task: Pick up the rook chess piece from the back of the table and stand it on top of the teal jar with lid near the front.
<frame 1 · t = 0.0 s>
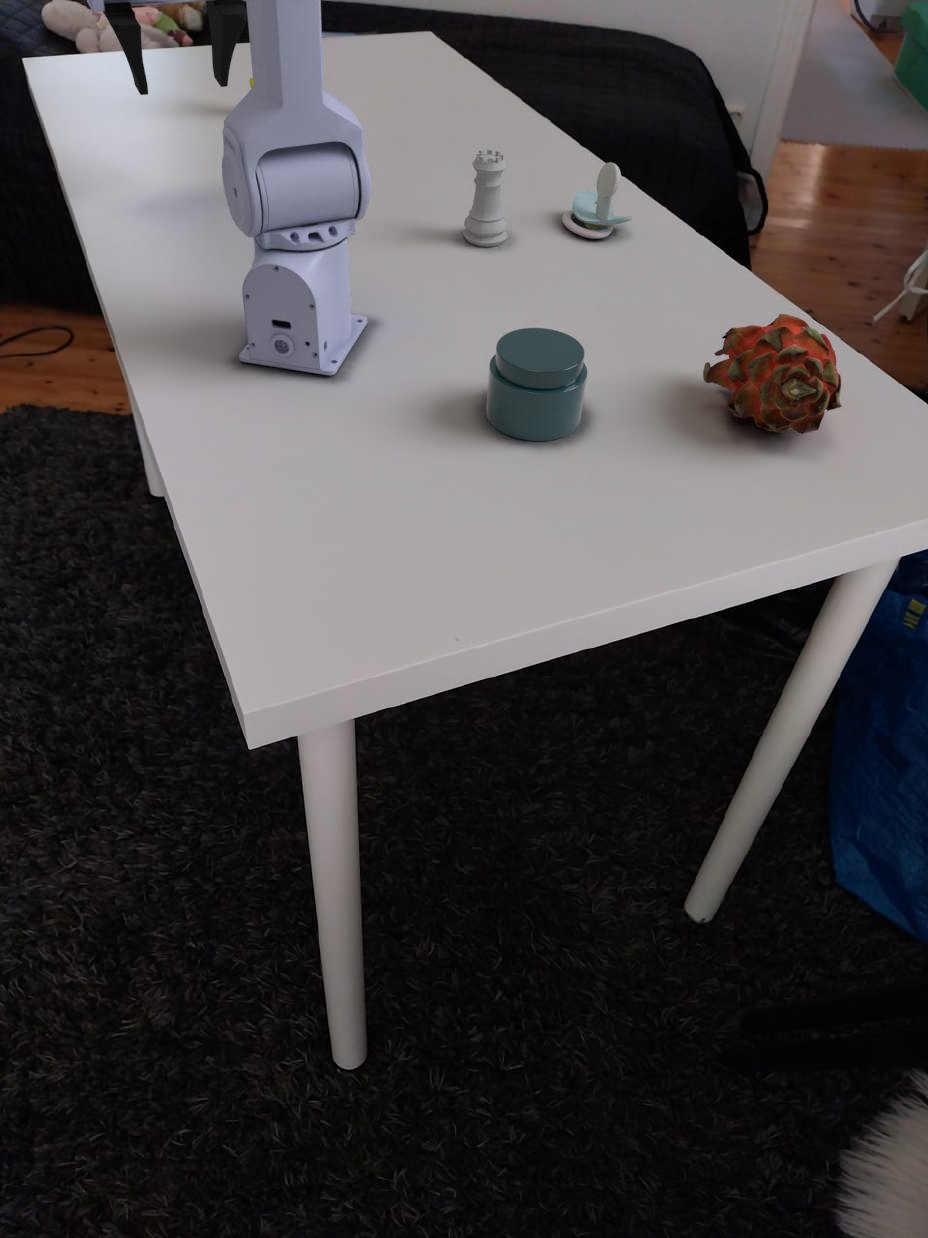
hand: (181, 85, 92), 11 cm above the table, tool pointing down, fingers open, 7 cm apart
pacifier: (592, 229, 99), on the table
rook chess piece: (484, 240, 96), on the table
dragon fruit: (758, 416, 75), on the table
teal jar with lid: (533, 414, 73), on the table
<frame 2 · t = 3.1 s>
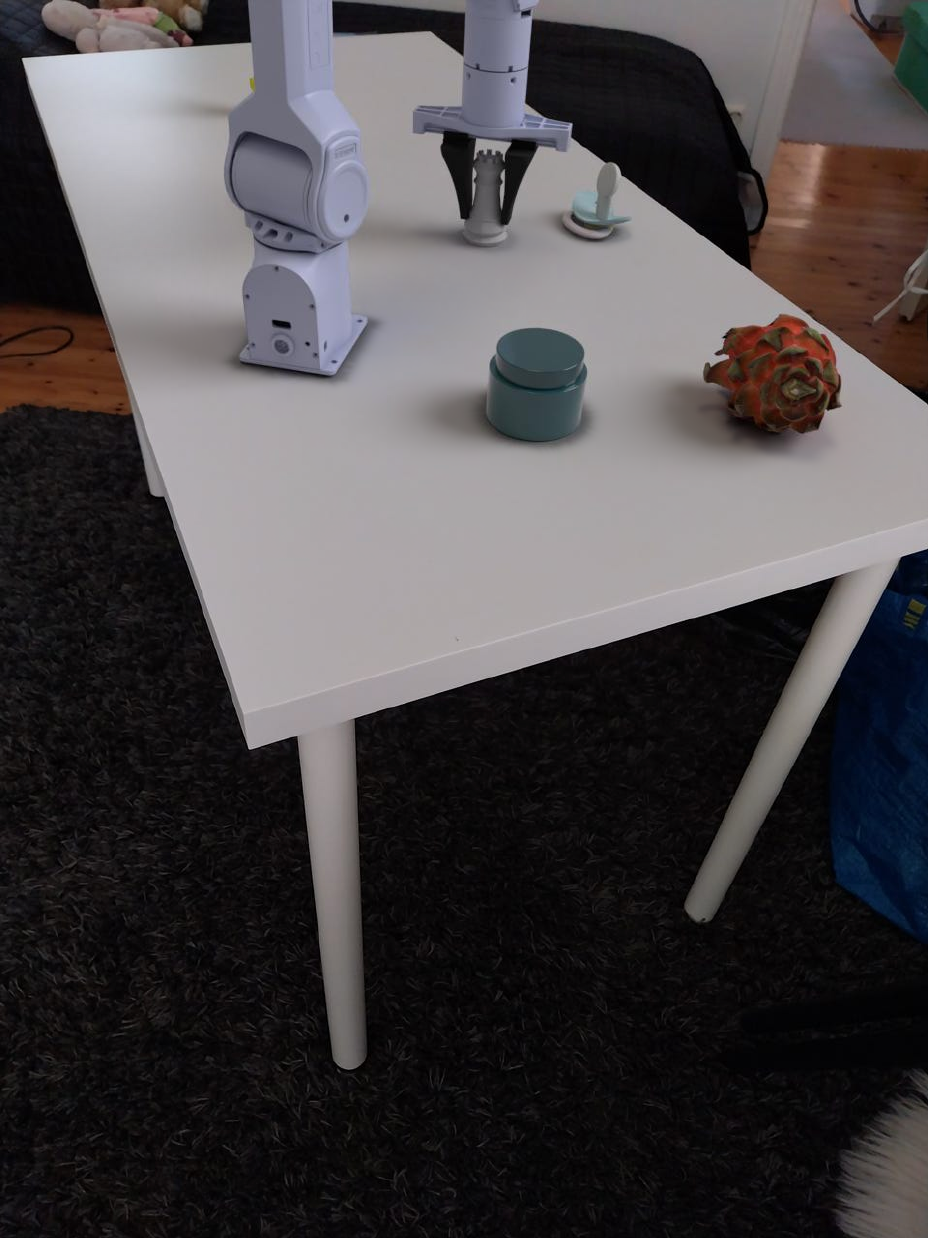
hand: (486, 218, 94), 2 cm above the table, tool pointing down, fingers closed on rook chess piece, 3 cm apart
rook chess piece: (484, 240, 96), on the table, touching gripper
everything else where it was.
when the fingers open (7 cm above the table, at t = 7.5 s): rook chess piece stays where it is, resting on teal jar with lid.
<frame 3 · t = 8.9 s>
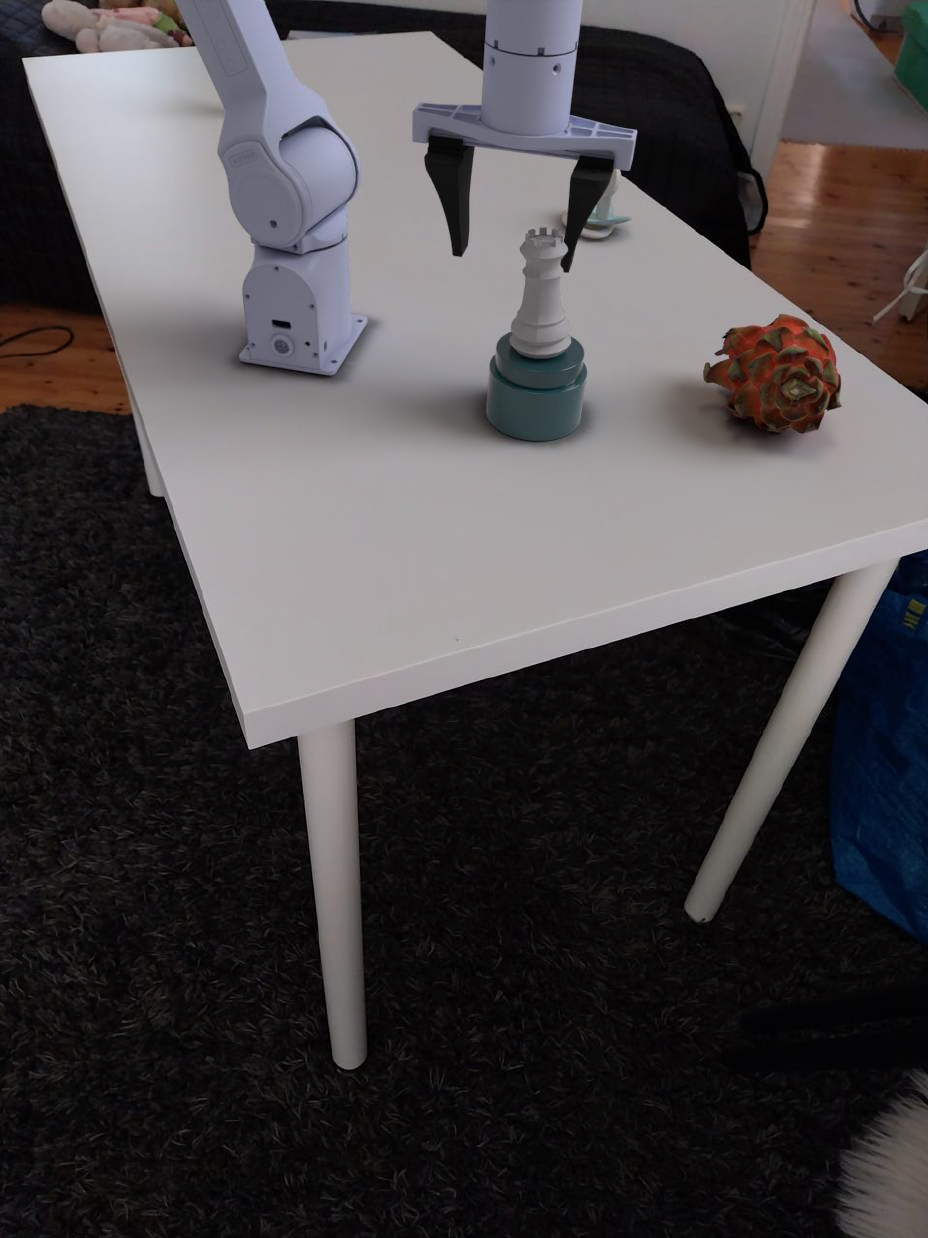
hand: (512, 258, 69), 10 cm above the table, tool pointing down, fingers open, 7 cm apart
rook chess piece: (540, 348, 69), point 5 cm above the table, touching teal jar with lid
teal jar with lid: (533, 414, 73), on the table, touching rook chess piece
everything else where it was.
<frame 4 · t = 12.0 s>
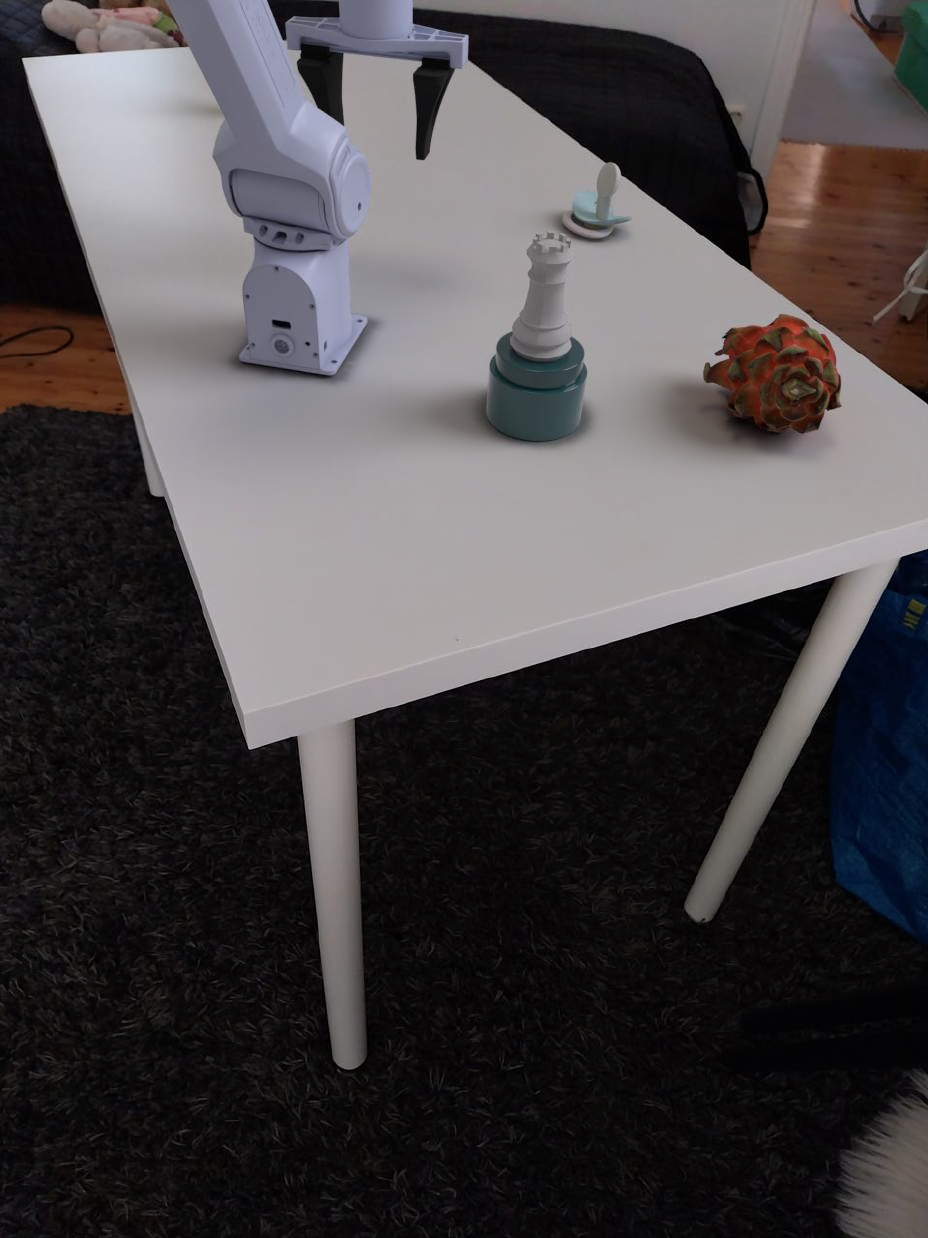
hand: (379, 150, 83), 10 cm above the table, tool pointing down, fingers open, 7 cm apart
nothing on the table moved.
at the end: rook chess piece 0.0 cm off-centre on the teal jar with lid, point 5.3 cm above the teal jar with lid's base; rook chess piece tilted 0°; the gripper is holding nothing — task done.
